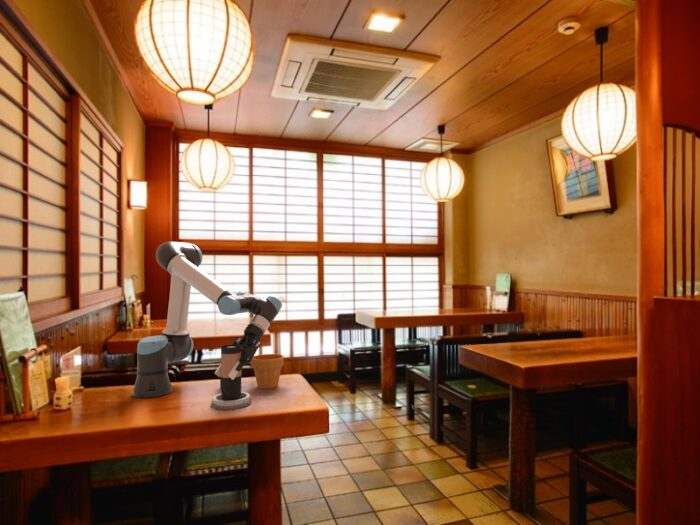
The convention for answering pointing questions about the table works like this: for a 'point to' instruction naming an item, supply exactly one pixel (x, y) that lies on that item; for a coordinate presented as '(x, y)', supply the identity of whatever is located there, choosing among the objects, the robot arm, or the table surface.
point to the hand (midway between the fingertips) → (223, 376)
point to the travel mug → (228, 361)
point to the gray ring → (230, 402)
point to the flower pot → (267, 369)
